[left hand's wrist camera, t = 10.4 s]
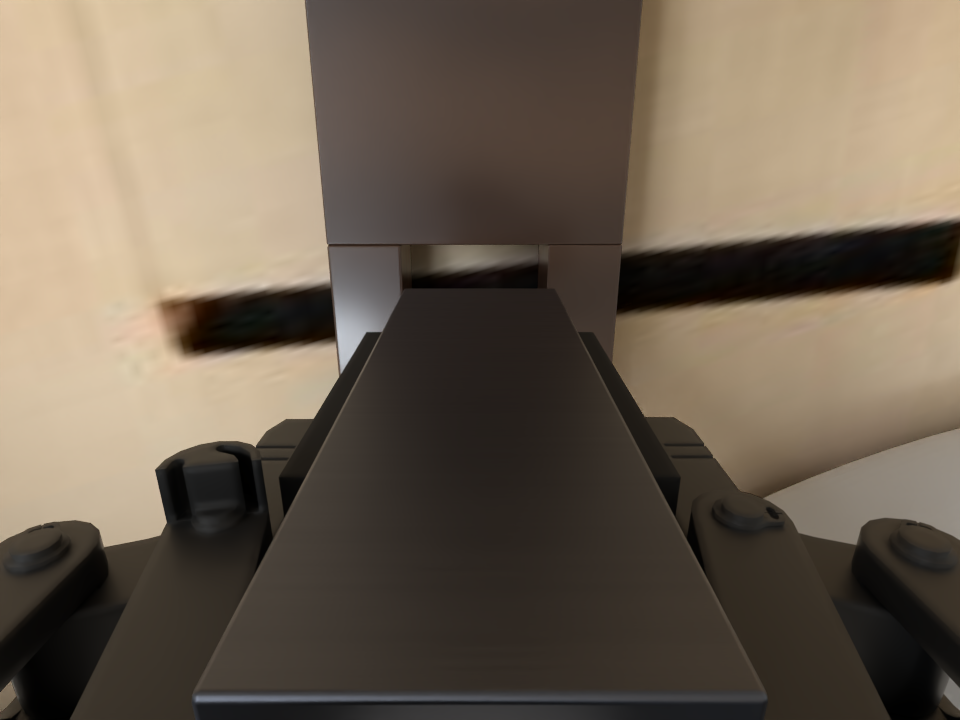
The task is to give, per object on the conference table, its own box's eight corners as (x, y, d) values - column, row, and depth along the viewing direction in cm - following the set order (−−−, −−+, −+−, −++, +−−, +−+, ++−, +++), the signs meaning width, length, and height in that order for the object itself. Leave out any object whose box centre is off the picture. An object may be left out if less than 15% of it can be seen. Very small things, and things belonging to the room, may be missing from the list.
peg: (549, 424, 17) (696, 1016, 5) (410, 424, 17) (262, 1016, 5) (555, 287, 15) (774, 697, 4) (403, 287, 15) (184, 697, 4)
